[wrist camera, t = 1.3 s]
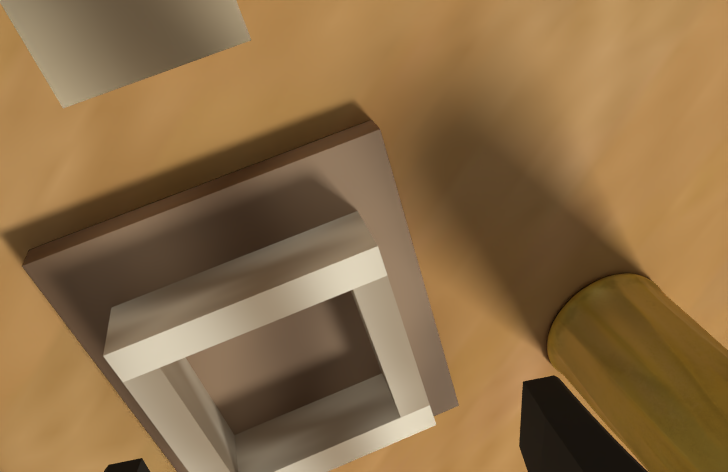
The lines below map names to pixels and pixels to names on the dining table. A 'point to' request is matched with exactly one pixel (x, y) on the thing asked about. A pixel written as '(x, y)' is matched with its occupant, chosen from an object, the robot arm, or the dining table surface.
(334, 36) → the dining table surface
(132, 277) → the socket board
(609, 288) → the vase
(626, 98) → the dining table surface
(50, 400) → the dining table surface
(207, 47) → the birch peg
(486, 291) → the dining table surface
